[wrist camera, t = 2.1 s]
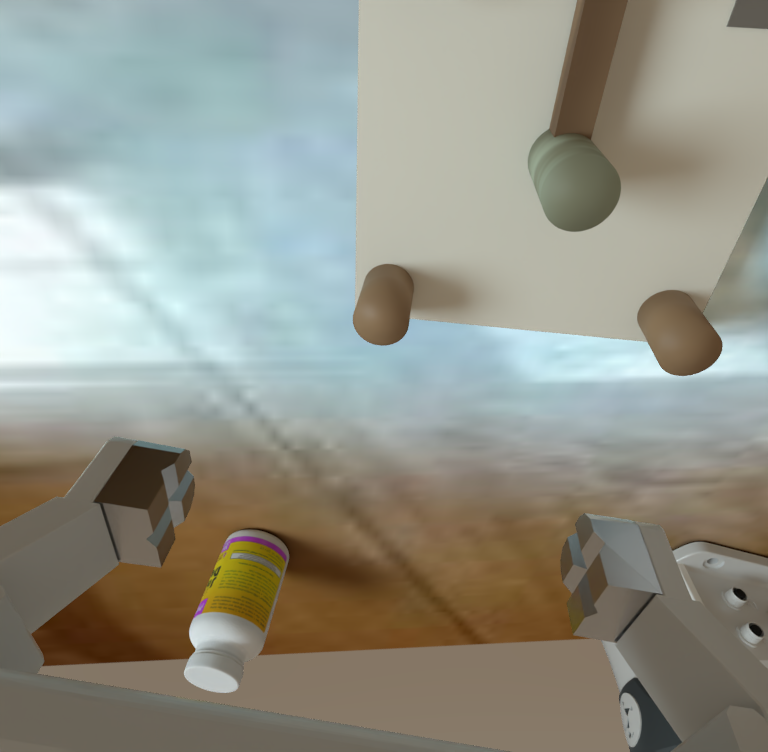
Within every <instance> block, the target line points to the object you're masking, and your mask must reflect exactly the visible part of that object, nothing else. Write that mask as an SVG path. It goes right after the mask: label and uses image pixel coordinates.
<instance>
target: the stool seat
mask: <svg viewBox="0 0 768 752" xmlns="http://www.w3.org/2000/svg"><path fill="white" fill-rule="evenodd" d="M576 3H577V0H359V42H358V123H357V204H356V285H355V311H354V315H353V324H354V327H355V330H356V331H357V333H358V334H359V335H360V336H361V337H362V338H363V339H364V340H366V341H367V342H369V343H372V344H375V345H390V344H393V343H396V342H398V341H399V340H400V339H402V338H403V337H404V335H405V334H406V332H407V330H408V326H409V319H419V320H429V321H440V322H450V323H460V324H470V325H480V326H491V327H501V328H511V329H521V330H532V331H542V332H552V333H562V334H572V335H583V336H593V337H603V338H613V339H623V340H634V341H644V342H648V344H649V346H650V348H651V349H652V351H653V353H654V355H655V357H656V359H657V361H658V363H659V365H660V366H661V368H662V369H663V370H665V371H666V372H668V373H670V374H673V375H678V376H687V375H693V374H696V373H699V372H701V371H703V370H705V369H707V368H708V367H710V366H711V365H712V364H713V363H714V362H715V361H716V360H717V359H718V357H719V356H720V354H721V351H722V340H721V338H720V336H719V335H718V334H717V332H716V331H715V330H714V328H713V327H712V326H711V324H710V323H709V322H708V320H707V319H706V318H705V316H704V315H703V312H704V310H705V307H706V305H707V303H708V301H709V299H710V297H711V295H712V293H713V291H714V289H715V286H716V284H717V282H718V280H719V278H720V276H721V274H722V272H723V270H724V268H725V266H726V263H727V261H728V259H729V257H730V255H731V253H732V251H733V249H734V247H735V245H736V242H737V240H738V238H739V236H740V234H741V232H742V230H743V228H744V226H745V224H746V222H747V219H748V217H749V215H750V213H751V211H752V209H753V207H754V205H755V203H756V201H757V198H758V196H759V194H760V192H761V190H762V188H763V186H764V184H765V182H766V180H767V177H768V0H628V2H627V6H626V10H625V13H624V17H623V21H622V25H621V28H620V32H619V36H618V40H617V43H616V47H615V51H614V55H613V58H612V62H611V66H610V70H609V73H608V77H607V81H606V85H605V89H604V92H603V96H602V100H601V104H600V107H599V111H598V115H597V119H596V122H595V126H594V130H593V134H592V137H591V141H592V142H593V143H594V144H595V145H596V147H597V148H598V149H599V150H600V151H601V152H602V154H603V155H604V156H605V157H606V158H607V159H608V161H609V162H610V163H611V164H612V165H613V167H614V168H615V169H616V171H617V173H618V174H619V177H620V181H621V193H620V198H619V201H618V203H617V205H616V207H615V209H614V210H613V212H612V213H611V214H610V215H609V217H608V218H606V219H605V220H604V221H603V222H602V223H600V224H599V225H597V226H595V227H593V228H591V229H588V230H585V231H579V232H570V231H565V230H562V229H559V228H557V227H556V226H554V225H553V224H552V223H551V222H550V221H549V220H548V219H547V217H546V215H545V213H544V211H543V208H542V205H541V202H540V200H539V197H538V194H537V192H536V189H535V186H534V184H533V181H532V178H531V176H530V173H529V169H528V156H529V152H530V149H531V147H532V145H533V144H534V142H535V141H536V139H537V138H538V137H539V136H540V135H541V134H542V133H544V132H545V131H547V130H548V129H549V127H550V122H551V118H552V113H553V109H554V104H555V99H556V95H557V90H558V86H559V81H560V77H561V72H562V67H563V63H564V58H565V54H566V49H567V44H568V40H569V35H570V31H571V26H572V21H573V17H574V12H575V8H576Z"/></svg>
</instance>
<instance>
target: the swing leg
mask: <svg viewBox="0 0 768 752" xmlns="http://www.w3.org/2000/svg"><path fill="white" fill-rule="evenodd" d="M627 2H628V0H577V3H576V8H575V12H574V17H573V21H572V26H571V31H570V35H569V40H568V44H567V49H566V54H565V58H564V63H563V67H562V72H561V77H560V81H559V86H558V90H557V95H556V99H555V104H554V109H553V113H552V118H551V122H550V127H549V129H548V130H547V131H545V132H544V133H542V134H541V135H540V136H539V137H538V138H537V139H536V141H535V142H534V144H533V145H532V147H531V149H530V152H529V156H528V169H529V173H530V176H531V178H532V181H533V184H534V186H535V189H536V192H537V194H538V197H539V200H540V202H541V205H542V208H543V211H544V213H545V215H546V217H547V219H548V220H549V221H550V222H551V223H552V224H553V225H554V226H556V227H557V228H559V229H562V230H565V231H570V232H579V231H585V230H588V229H591V228H593V227H595V226H597V225H599V224H600V223H602V222H603V221H604V220H605V219H606V218H608V217H609V215H610V214H611V213H612V212H613V210H614V209H615V207H616V205H617V203H618V201H619V198H620V193H621V181H620V177H619V174H618V173H617V171H616V169H615V168H614V167H613V165H612V164H611V163H610V162H609V161H608V159H607V158H606V157H605V156H604V155H603V154H602V152H601V151H600V150H599V149H598V148H597V147H596V145H595V144H594V143H593V142H592V141H591V137H592V134H593V130H594V126H595V122H596V119H597V115H598V111H599V107H600V104H601V100H602V96H603V92H604V89H605V85H606V81H607V77H608V73H609V70H610V66H611V62H612V58H613V55H614V51H615V47H616V43H617V40H618V36H619V32H620V28H621V25H622V21H623V17H624V13H625V10H626V6H627Z"/></svg>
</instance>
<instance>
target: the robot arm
mask: <svg viewBox="0 0 768 752" xmlns="http://www.w3.org/2000/svg"><path fill="white" fill-rule="evenodd" d="M191 462H192V461H191V456H190V451H189V450H186V449H181V448H176V447H170V446H165V445H160V444H154V443H149V442H144V441H137V440H132V439H126V438H121V437H113V438H112V439H110V440H108V441H107V442H106V443H105V445H104V446H103V447H102V449H101V450H100V451H99V452H98V454H97V455H96V456H95V458H94V459H93V460H92V462H91V463H90V464H89V466H88V467H87V468H86V470H85V471H84V472H83V474H82V475H81V476H80V478H79V479H78V480H77V481H76V483H75V484H74V485H73V487H72V488H71V489H70V491H69V492H68V493H67V495H66V496H65V497H64V498H62V497H55V498H53V499H51V500H50V501H48V502H46V503H44V504H42V505H40V506H38V507H36V508H34V509H33V510H31V511H29V512H27V513H25V514H23V515H21V516H19V517H17V518H16V519H14V520H12V521H10V522H8V523H6V524H4V525H2V526H0V752H510V751H504V750H498V749H492V748H485V747H480V746H474V745H467V744H461V743H455V742H449V741H443V740H437V739H431V738H425V737H419V736H413V735H406V734H401V733H395V732H389V731H383V730H376V729H370V728H364V727H358V726H352V725H346V724H340V723H334V722H328V721H322V720H315V719H309V718H304V717H298V716H292V715H285V714H279V713H273V712H267V711H261V710H255V709H249V708H243V707H237V706H230V705H225V704H218V703H212V702H206V701H200V700H194V699H188V698H182V697H176V696H170V695H163V694H158V693H151V692H146V691H139V690H133V689H127V688H121V687H114V686H108V685H102V684H97V683H91V682H84V681H78V680H72V679H66V678H60V677H54V676H48V675H42V674H37V673H38V671H39V670H40V668H41V666H42V664H43V663H44V658H43V654H42V652H41V650H40V649H39V647H38V645H37V644H36V642H35V640H34V639H33V637H32V635H31V633H33V632H34V631H35V630H36V629H38V628H39V627H40V626H41V625H43V624H44V623H45V622H46V621H48V620H49V619H50V618H52V617H53V616H54V615H55V614H57V613H58V612H59V611H60V610H62V609H63V608H64V607H65V606H67V605H68V604H69V603H71V602H72V601H73V600H74V599H76V598H77V597H78V596H79V595H81V594H82V593H83V592H84V591H86V590H87V589H88V588H90V587H91V586H92V585H93V584H95V583H96V582H97V581H98V580H100V579H101V578H102V577H103V576H105V575H106V574H107V573H109V572H110V571H111V570H112V569H114V568H115V567H116V566H117V565H119V562H124V563H132V564H139V565H146V566H154V567H162V565H163V563H164V561H165V559H166V557H167V555H168V553H169V551H170V549H171V547H172V545H173V543H174V541H175V533H174V527H176V526H177V525H179V524H180V523H182V522H183V521H185V519H186V517H187V515H188V513H189V510H190V508H191V504H192V501H193V497H194V489H195V482H194V476H193V475H192V474H191V473H190V472H189V471H188V468H189V466H190V464H191ZM575 526H576V530H577V533H576V534H574V535H572V536H570V537H568V538H567V540H566V542H565V544H564V546H563V548H562V554H561V560H560V562H561V575H562V581H563V583H564V584H565V586H566V587H567V588H568V589H569V590H570V592H571V593H572V595H571V597H570V598H569V600H568V602H567V607H568V612H569V617H570V622H571V627H572V632H573V635H577V636H582V637H587V638H592V639H598V640H601V641H602V643H603V646H604V649H605V651H606V654H607V656H608V659H609V662H610V664H611V667H612V670H613V673H614V676H615V679H616V682H617V685H618V688H619V691H620V695H619V701H620V709H621V716H622V722H623V727H624V731H625V736H626V739H627V742H628V745H629V749H630V752H768V558H765V557H761V556H757V555H753V554H749V553H746V552H742V551H738V550H734V549H730V548H726V547H722V546H718V545H714V544H710V543H706V542H694V543H690V544H687V545H684V546H682V547H680V548H678V549H676V550H674V551H672V549H671V547H670V544H669V542H668V540H667V537H666V535H665V532H664V530H663V529H662V528H661V527H660V526H659V525H655V524H649V523H642V522H636V521H631V520H625V519H619V518H612V517H605V516H599V515H592V514H585V513H584V514H583V515H581V516H580V517H579V518H578V520H577V522H576V524H575Z"/></svg>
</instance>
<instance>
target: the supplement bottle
mask: <svg viewBox="0 0 768 752" xmlns="http://www.w3.org/2000/svg"><path fill="white" fill-rule="evenodd" d="M288 561H289V552H288V549H287V547H286V546H285V544H284V543H283V542H282V541H281V540H280V539H278V538H277V537H275V536H273V535H271V534H269V533H267V532H263V531H260V530H252V529H247V530H240V531H237V532H235V533H233V534H231V535H230V536H229V537H228V539H227V540H226V542H225V544H224V547H223V549H222V551H221V554H220V556H219V558H218V561H217V563H216V566H215V568H214V570H213V573H212V575H211V578H210V580H209V582H208V585H207V587H206V590H205V592H204V595H203V597H202V600H201V602H200V604H199V607H198V609H197V612H196V614H195V616H194V619H193V621H192V624H191V626H190V631H189V635H190V640H191V642H192V644H193V645H194V647H195V648H196V650H195V652H194V653H193V654H192V656H191V657H190V658H189V660H188V663H187V666H186V668H185V671H184V676H185V677H186V679H187V680H188V681H189V682H191V683H192V684H194V685H195V686H197V687H200V688H203V689H205V690H208V691H213V692H219V693H228V692H232V691H235V690H237V688H238V687H239V685H240V682H241V679H242V677H243V669H244V666H243V665H244V662H247V661H250V660H252V659H254V658H255V657H256V656H257V655H258V654H259V653H260V652H261V650H262V648H263V646H264V642H265V639H266V636H267V632H268V629H269V625H270V622H271V619H272V615H273V612H274V609H275V605H276V602H277V599H278V595H279V592H280V588H281V585H282V582H283V578H284V575H285V572H286V568H287V565H288Z"/></svg>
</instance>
